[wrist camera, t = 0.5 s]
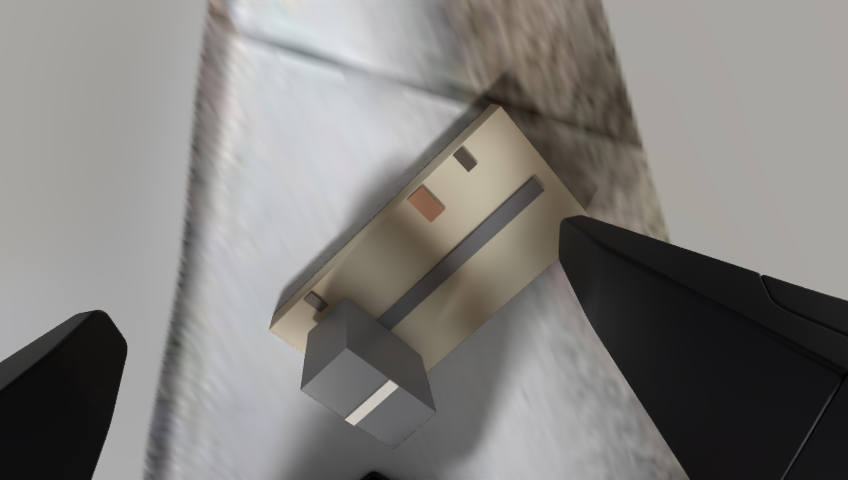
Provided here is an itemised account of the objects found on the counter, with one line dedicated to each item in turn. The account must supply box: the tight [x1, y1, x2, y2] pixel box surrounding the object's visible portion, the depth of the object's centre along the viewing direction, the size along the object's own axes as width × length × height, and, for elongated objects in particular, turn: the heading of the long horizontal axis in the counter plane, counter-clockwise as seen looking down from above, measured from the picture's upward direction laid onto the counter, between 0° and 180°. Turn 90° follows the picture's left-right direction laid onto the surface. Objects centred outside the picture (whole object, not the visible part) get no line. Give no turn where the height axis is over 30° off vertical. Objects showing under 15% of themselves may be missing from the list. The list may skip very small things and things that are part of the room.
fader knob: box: [301, 297, 436, 449], centre depth 23 cm, size 3×6×5 cm, turn 43°
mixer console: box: [269, 103, 590, 373], centre depth 25 cm, size 17×9×2 cm, turn 133°
